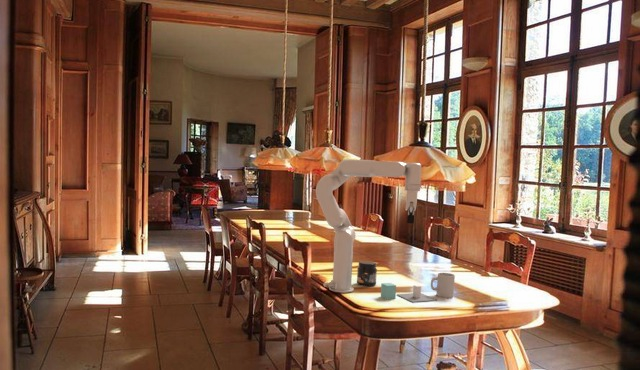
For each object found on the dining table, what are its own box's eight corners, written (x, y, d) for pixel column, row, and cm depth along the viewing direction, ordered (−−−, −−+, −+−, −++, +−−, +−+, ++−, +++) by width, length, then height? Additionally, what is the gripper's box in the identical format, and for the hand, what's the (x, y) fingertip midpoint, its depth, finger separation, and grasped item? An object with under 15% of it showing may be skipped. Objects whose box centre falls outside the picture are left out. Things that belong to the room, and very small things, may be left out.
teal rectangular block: (386, 299, 259) (387, 285, 259) (380, 296, 264) (381, 283, 263) (395, 298, 261) (396, 285, 261) (389, 296, 266) (390, 282, 266)
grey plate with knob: (412, 302, 255) (413, 290, 255) (396, 295, 268) (397, 283, 268) (436, 300, 261) (437, 288, 261) (420, 293, 274) (420, 281, 274)
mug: (450, 293, 277) (451, 272, 276) (456, 298, 268) (457, 276, 268) (427, 293, 276) (428, 272, 275) (432, 297, 267) (434, 275, 267)
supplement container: (353, 282, 291) (354, 260, 291) (370, 282, 295) (372, 260, 294) (361, 287, 281) (362, 264, 281) (379, 286, 285) (380, 264, 285)
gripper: (405, 186, 274) (403, 219, 275) (404, 188, 257) (402, 223, 258) (420, 187, 273) (418, 220, 273) (420, 189, 256) (418, 224, 256)
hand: (410, 222), depth 266 cm, fingers open, 9 cm apart
